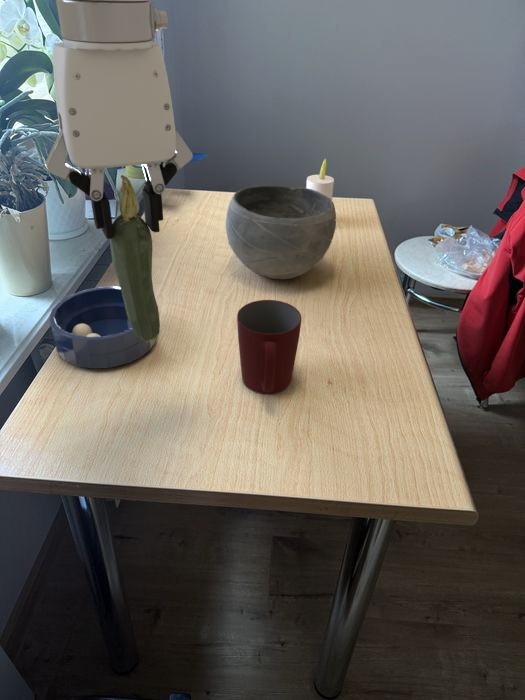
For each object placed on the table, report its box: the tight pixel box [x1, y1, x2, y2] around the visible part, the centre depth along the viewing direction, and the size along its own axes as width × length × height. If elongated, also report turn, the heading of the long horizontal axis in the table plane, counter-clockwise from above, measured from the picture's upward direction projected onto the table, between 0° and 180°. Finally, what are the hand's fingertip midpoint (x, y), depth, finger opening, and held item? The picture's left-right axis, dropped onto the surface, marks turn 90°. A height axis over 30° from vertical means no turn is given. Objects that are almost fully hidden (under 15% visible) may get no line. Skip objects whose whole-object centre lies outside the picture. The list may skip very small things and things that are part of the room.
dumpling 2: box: [86, 333, 101, 337], centre depth 82 cm, size 3×3×3 cm
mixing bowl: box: [48, 286, 157, 369], centre depth 84 cm, size 16×16×6 cm
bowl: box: [225, 184, 337, 280], centre depth 104 cm, size 21×21×15 cm
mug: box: [236, 299, 302, 395], centre depth 75 cm, size 12×9×11 cm
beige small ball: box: [72, 324, 92, 337], centre depth 84 cm, size 3×3×3 cm
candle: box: [305, 158, 335, 201], centre depth 125 cm, size 6×6×15 cm
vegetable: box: [109, 174, 161, 343], centre depth 58 cm, size 4×4×20 cm
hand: (130, 229), depth 55 cm, fingers closed on vegetable, 4 cm apart
